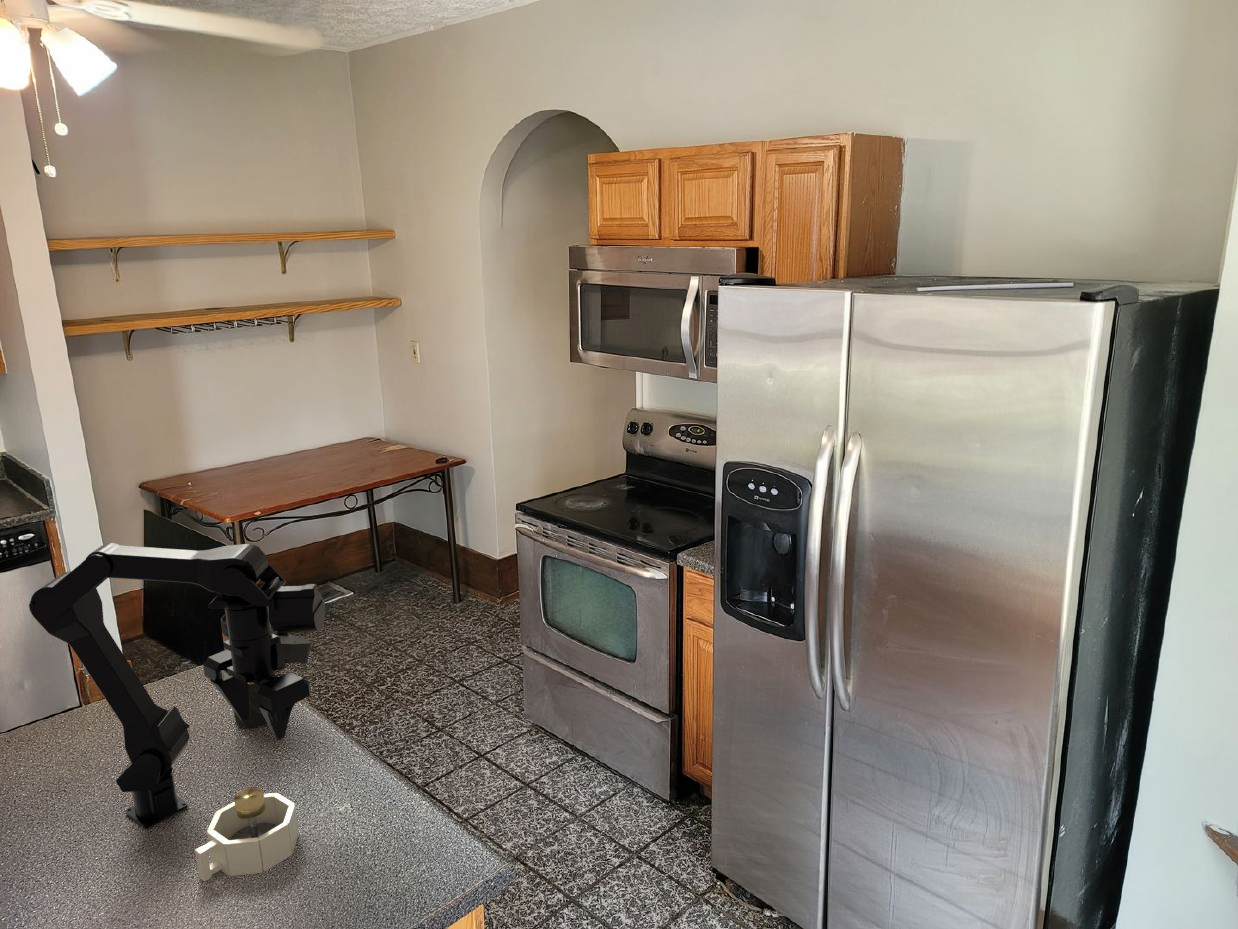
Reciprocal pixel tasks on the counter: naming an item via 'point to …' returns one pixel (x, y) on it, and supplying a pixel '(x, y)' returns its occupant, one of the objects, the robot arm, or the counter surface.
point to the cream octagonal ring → (248, 840)
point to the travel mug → (255, 713)
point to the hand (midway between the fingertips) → (262, 729)
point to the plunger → (251, 813)
